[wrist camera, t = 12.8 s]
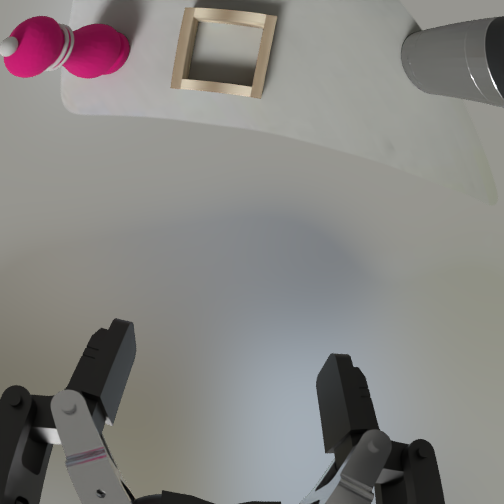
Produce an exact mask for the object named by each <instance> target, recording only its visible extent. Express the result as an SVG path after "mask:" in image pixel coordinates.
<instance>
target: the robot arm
mask: <svg viewBox="0 0 504 504" xmlns="http://www.w3.org/2000/svg"><path fill="white" fill-rule="evenodd" d="M401 59H402V64H403V67H404V70H405V72H406V74H407V76H408V77H409V79H410V80H411V81H412V83H413V84H414V85H416V86H417V87H418V88H419V89H421V90H422V91H424V92H427V93H429V94H436V95H443V96H449V97H455V98H461V99H466V100H472V101H477V102H482V103H486V104H490V105H494V106H499V107H503V108H504V16H503V17H494V18H485V19H479V20H473V21H466V22H461V23H455V24H450V25H446V26H440V27H436V28H431V29H427V30H423V31H419V32H416V33H413V34H411V35H410V36H408V37H407V39H406V40H405V41H404V44H403V46H402V51H401ZM135 355H136V341H135V333H134V325H133V323H132V322H129V321H125V320H120V319H117V318H116V319H114V320H113V322H112V323H111V326H110V328H109V330H107V329H103V328H101V329H99V330H98V331H97V332H96V333H95V334H94V335H92V337H91V339H90V341H89V342H88V345H87V348H85V350H84V352H83V356H82V357H81V358H80V361H79V363H78V365H77V367H76V369H75V371H74V373H73V375H72V377H71V380H70V382H69V384H68V386H67V387H66V389H65V390H62V391H60V392H58V393H57V394H56V395H54V396H40V395H30V393H29V392H28V390H27V389H25V388H24V387H22V386H17V385H15V386H11V387H9V388H7V389H6V390H5V391H4V393H3V394H2V397H1V399H0V504H39V502H40V497H41V492H42V488H43V483H44V479H45V474H46V470H47V466H48V462H49V458H50V455H51V451H52V447H53V444H62V447H63V450H64V452H65V455H66V467H67V470H68V473H69V475H70V478H71V480H72V483H73V485H74V487H75V490H76V492H77V494H78V496H79V498H80V500H81V503H82V504H214V503H211V502H208V501H205V500H203V499H200V498H197V497H194V496H191V495H185V494H180V493H173V492H169V491H164V490H163V491H162V494H155V495H148V496H144V497H141V498H138V499H136V498H135V496H134V494H133V493H132V491H131V489H130V487H129V485H128V484H127V482H126V480H125V479H124V477H123V475H122V474H121V472H120V470H119V468H118V466H117V464H116V462H115V460H114V458H113V456H112V454H111V452H110V450H109V447H108V445H107V443H106V441H105V438H104V436H103V434H102V431H103V428H104V425H105V424H108V425H113V423H114V420H115V416H116V413H117V410H118V407H119V404H120V401H121V398H122V395H123V391H124V389H125V386H126V383H127V380H128V377H129V374H130V371H131V368H132V365H133V362H134V359H135ZM316 389H317V395H318V403H319V410H320V416H321V423H322V431H323V439H324V446H325V453H334V454H335V459H334V460H333V461H332V463H331V464H330V466H329V467H328V469H327V470H326V472H325V473H324V474H323V476H322V477H321V479H320V480H319V481H318V483H317V484H316V486H315V487H314V488H313V490H312V491H311V492H310V493H309V494H308V495H307V496H306V497H305V498H304V499H303V500H302V501H301V502H300V503H299V504H371V502H372V500H373V498H374V494H373V493H372V489H373V486H374V487H375V497H376V504H445V501H444V495H443V490H442V484H441V479H440V475H439V470H438V465H437V461H436V457H435V452H434V449H433V447H432V445H431V444H430V443H429V442H427V441H426V440H423V439H418V440H415V441H413V442H412V443H411V444H404V443H399V442H395V441H391V440H390V438H389V437H388V436H387V435H386V434H385V433H384V432H382V431H380V429H379V426H378V423H377V419H376V415H375V411H374V407H373V403H372V400H371V398H370V392H369V389H368V385H367V381H366V378H365V376H364V375H363V373H362V372H361V370H360V369H359V368H358V367H353V364H352V360H351V357H350V356H349V355H348V354H333V353H332V354H330V356H329V357H328V359H327V361H326V362H325V364H324V366H323V368H322V369H321V371H320V373H319V374H318V377H317V381H316ZM240 504H281V502H259V501H258V502H257V501H252V502H246V503H240Z"/></svg>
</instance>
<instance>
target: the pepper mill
mask: <svg viewBox="0 0 504 504" xmlns="http://www.w3.org/2000/svg"><path fill="white" fill-rule="evenodd" d="M0 54H1V55H2V56H4V63H5V66H6V68H7V69H8V71H9V72H10V73H12V74H13V75H15V76H18V77H23V78H27V77H33V76H36V75H38V74H40V73H42V72H43V71H52V70H55V69H57V68H59V67H60V66H64V67H65V68H66V69H67V70H68V71H69V72H70V73H72V74H74V75H75V76H77V77H81V78H95V77H98V76H101V75H106V74H111V73H113V72H115V71H117V70H118V69H119V68H121V67H122V66H123V64H124V63H125V62H126V60H127V57H128V54H129V42H128V40H127V38H126V37H125V36H124V35H123V34H121V33H119V32H116V30H115V29H114V28H112V27H111V26H109V25H105V24H91V25H87V26H84V27H82V28H80V29H78V30H75V31H72V30H71V28H70V27H69V26H67V25H64V24H58V23H57V22H56V21H55V20H54V19H53V18H50V17H47V16H37V17H32V18H30V19H27V20H25V21H24V22H22V23H21V24H19V25H18V26H17V27H16V28H15V29H14V30H13V32H12V33H11V35H10V36H9V37H8V38H6V39H5V40H3V42H2V43H1V45H0Z"/></svg>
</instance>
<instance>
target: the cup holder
mask: <svg viewBox="0 0 504 504" xmlns="http://www.w3.org/2000/svg"><path fill="white" fill-rule="evenodd" d="M276 20H277V16H272V15H266V14H260V13H253V12H245V11H236V10H226V9H212V8H185V11H184V15H183V20H182V25H181V29H180V34H179V40H178V45H177V51H176V56H175V62H174V68H173V75H172V81H171V88H175V89H188V90H200V91H209V92H218V93H226V94H234V95H241V96H247V97H253V98H259V99H261V95H262V90H263V85H264V80H265V75H266V70H267V65H268V60H269V55H270V50H271V45H272V40H273V35H274V30H275V25H276ZM198 22H211V23H223V24H233V25H242V26H250V27H257V28H263V34H262V38H261V43H260V48H259V53H258V59H257V64H256V69H255V74H254V79H253V85H252V87H249V86H242V85H235V84H228V83H219V82H210V81H200V80H188V77H189V71H190V65H191V59H192V53H193V48H194V42H195V37H196V32H197V27H198Z"/></svg>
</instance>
